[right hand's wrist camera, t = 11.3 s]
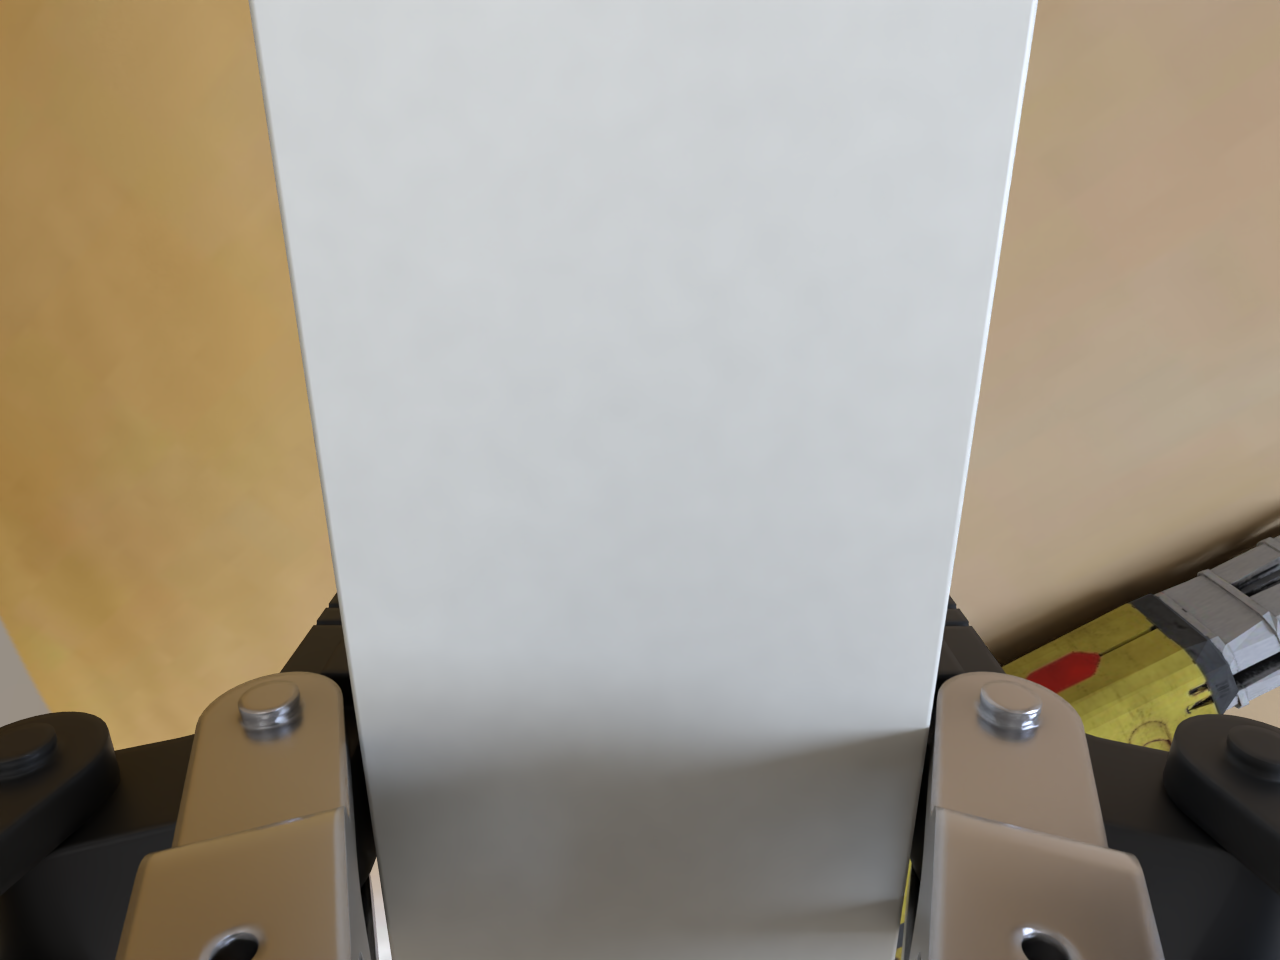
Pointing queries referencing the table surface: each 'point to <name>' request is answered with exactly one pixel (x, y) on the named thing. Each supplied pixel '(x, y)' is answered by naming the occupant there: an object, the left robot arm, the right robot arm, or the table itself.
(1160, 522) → the table surface
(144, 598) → the table surface
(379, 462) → the bar
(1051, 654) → the toy gun
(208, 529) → the table surface
